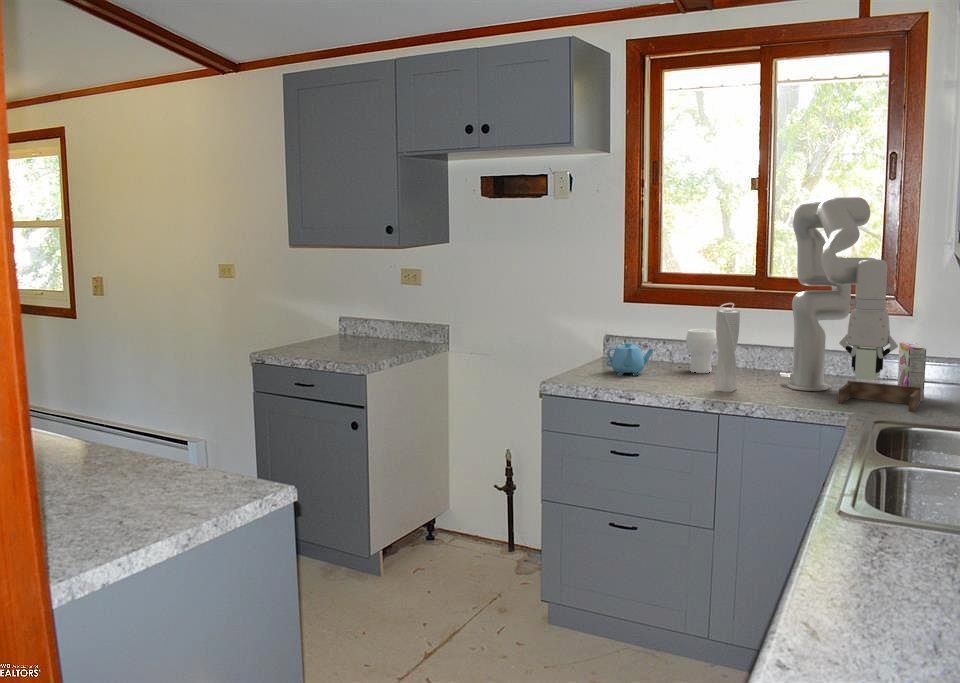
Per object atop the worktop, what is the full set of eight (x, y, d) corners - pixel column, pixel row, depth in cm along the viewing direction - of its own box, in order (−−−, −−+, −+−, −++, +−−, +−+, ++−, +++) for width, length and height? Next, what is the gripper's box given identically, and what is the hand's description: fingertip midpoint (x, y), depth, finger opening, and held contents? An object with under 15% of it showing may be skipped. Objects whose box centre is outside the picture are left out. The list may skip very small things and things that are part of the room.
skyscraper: (719, 386, 279) (721, 302, 275) (741, 388, 275) (744, 303, 271) (710, 390, 273) (712, 304, 269) (733, 393, 268) (736, 305, 264)
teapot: (657, 374, 302) (658, 343, 301) (629, 379, 294) (630, 346, 293) (627, 368, 315) (627, 338, 313) (599, 372, 307) (599, 342, 305)
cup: (679, 371, 307) (680, 330, 305) (696, 367, 314) (697, 327, 312) (705, 375, 299) (706, 333, 297) (721, 371, 306) (722, 330, 304)
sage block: (854, 378, 232) (856, 349, 231) (858, 375, 236) (860, 346, 235) (874, 379, 229) (876, 350, 228) (878, 376, 233) (879, 348, 232)
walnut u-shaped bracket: (838, 404, 251) (838, 387, 250) (847, 396, 261) (848, 380, 260) (912, 412, 240) (913, 394, 239) (919, 404, 249) (920, 387, 248)
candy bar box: (895, 394, 264) (898, 342, 261) (912, 394, 263) (916, 342, 260) (905, 401, 253) (909, 347, 251) (924, 402, 252) (927, 347, 250)
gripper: (833, 304, 231) (830, 370, 234) (902, 307, 222) (898, 376, 224) (840, 302, 237) (837, 366, 240) (907, 305, 228) (903, 372, 230)
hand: (866, 370), depth 232 cm, fingers closed on sage block, 5 cm apart
